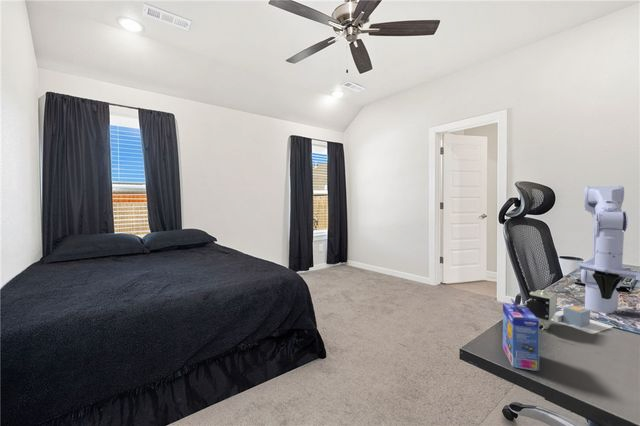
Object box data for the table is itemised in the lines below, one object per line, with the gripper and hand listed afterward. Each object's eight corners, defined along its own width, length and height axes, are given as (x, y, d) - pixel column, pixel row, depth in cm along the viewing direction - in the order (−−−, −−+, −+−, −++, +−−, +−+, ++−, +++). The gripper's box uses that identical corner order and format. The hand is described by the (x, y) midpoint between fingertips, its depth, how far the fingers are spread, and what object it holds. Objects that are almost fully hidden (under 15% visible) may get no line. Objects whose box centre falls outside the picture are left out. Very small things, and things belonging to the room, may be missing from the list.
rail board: (571, 316, 97) (571, 307, 97) (613, 329, 88) (614, 319, 88) (549, 322, 93) (550, 312, 93) (592, 337, 83) (592, 326, 83)
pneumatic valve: (556, 326, 90) (558, 288, 89) (546, 338, 82) (548, 296, 82) (535, 320, 94) (536, 284, 94) (523, 331, 87) (525, 291, 86)
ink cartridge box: (500, 347, 77) (502, 293, 77) (524, 350, 76) (527, 296, 75) (511, 367, 68) (513, 307, 67) (539, 372, 66) (542, 309, 66)
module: (572, 319, 93) (572, 304, 93) (589, 324, 89) (590, 309, 89) (562, 321, 91) (563, 307, 91) (580, 327, 87) (581, 312, 87)
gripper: (571, 249, 90) (569, 292, 91) (636, 258, 77) (633, 309, 77) (583, 247, 93) (582, 289, 93) (649, 256, 79) (646, 305, 80)
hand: (606, 298), depth 86 cm, fingers closed
